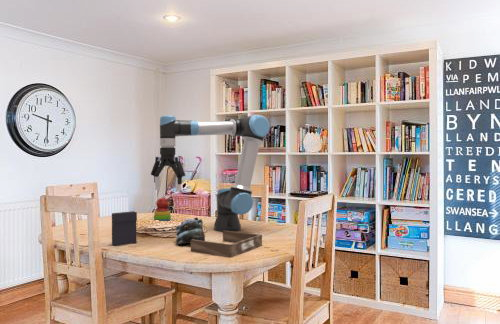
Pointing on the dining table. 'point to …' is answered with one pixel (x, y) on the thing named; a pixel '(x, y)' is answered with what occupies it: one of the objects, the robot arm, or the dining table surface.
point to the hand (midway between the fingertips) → (167, 190)
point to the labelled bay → (239, 246)
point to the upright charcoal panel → (124, 228)
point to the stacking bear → (162, 210)
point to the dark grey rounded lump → (190, 231)
